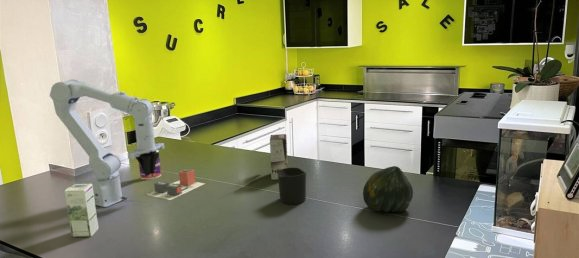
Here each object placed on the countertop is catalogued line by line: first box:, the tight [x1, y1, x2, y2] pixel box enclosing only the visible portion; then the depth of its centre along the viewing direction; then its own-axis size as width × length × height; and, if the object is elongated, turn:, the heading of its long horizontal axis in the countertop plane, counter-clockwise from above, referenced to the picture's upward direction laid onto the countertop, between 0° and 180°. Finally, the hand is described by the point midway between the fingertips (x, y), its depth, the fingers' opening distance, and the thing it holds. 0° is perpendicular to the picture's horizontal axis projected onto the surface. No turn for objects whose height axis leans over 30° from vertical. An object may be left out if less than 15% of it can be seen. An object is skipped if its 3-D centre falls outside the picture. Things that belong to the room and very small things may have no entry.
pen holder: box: [277, 167, 307, 205], centre depth 145 cm, size 9×9×10 cm
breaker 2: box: [167, 183, 182, 196], centre depth 152 cm, size 3×5×3 cm, turn 61°
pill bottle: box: [138, 150, 162, 181], centre depth 172 cm, size 8×8×14 cm
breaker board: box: [145, 179, 206, 201], centre depth 157 cm, size 18×12×1 cm, turn 151°
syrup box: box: [64, 183, 99, 238], centre depth 125 cm, size 6×6×14 cm
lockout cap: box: [178, 168, 196, 186], centre depth 162 cm, size 4×4×5 cm
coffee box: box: [269, 133, 289, 180], centre depth 169 cm, size 9×6×16 cm
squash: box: [362, 165, 414, 213], centre depth 134 cm, size 14×15×15 cm
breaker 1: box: [154, 181, 170, 193], centre depth 155 cm, size 3×4×3 cm
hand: (149, 173), depth 149 cm, fingers closed
